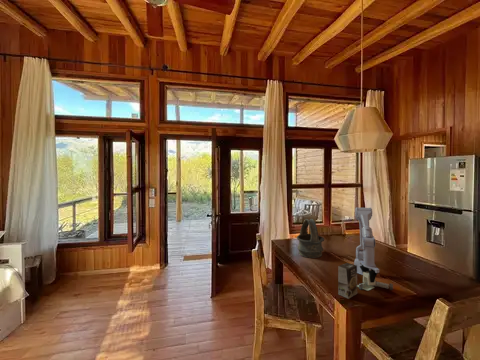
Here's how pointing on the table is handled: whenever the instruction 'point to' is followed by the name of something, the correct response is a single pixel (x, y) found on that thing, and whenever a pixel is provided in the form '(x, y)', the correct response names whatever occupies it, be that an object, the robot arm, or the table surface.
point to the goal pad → (367, 287)
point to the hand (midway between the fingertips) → (369, 280)
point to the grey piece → (384, 285)
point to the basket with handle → (310, 240)
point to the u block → (367, 278)
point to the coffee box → (347, 280)
